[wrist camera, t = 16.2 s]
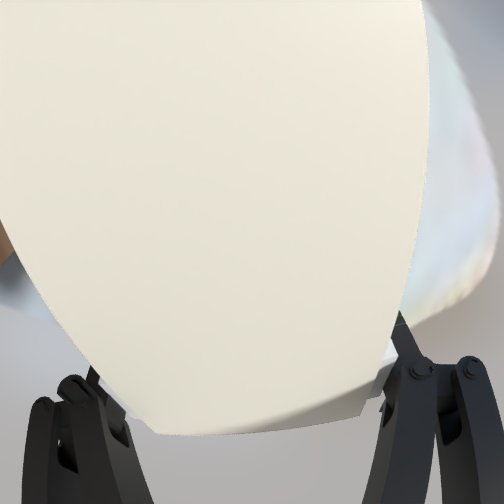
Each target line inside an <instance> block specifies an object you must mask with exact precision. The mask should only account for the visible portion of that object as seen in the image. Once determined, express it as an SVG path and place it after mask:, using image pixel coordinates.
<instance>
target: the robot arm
mask: <svg viewBox="0 0 504 504" xmlns="http://www.w3.org/2000/svg"><path fill="white" fill-rule="evenodd" d="M382 390H383V391H384V394H385V396H386V399H385V400H384V402H383V404H382V406H381V408H380V411H379V412H382V417H381V423H380V430H379V434H378V440H377V445H376V450H375V455H374V459H373V463H372V467H371V472H370V476H369V480H368V483H367V488H366V491H365V494H364V498H363V501H362V504H424V503H425V499H426V493H427V489H428V483H429V476H430V471H431V464H432V456H433V448H434V438H435V434H436V440H437V448H438V456H439V465H440V474H441V487H442V504H504V430H503V426H502V422H501V418H500V414H499V410H498V406H497V403H496V399H495V396H494V392H493V389H492V386H491V383H490V380H489V377H488V374H487V371H486V368H485V366H484V364H483V363H482V361H480V360H479V359H478V358H476V357H474V356H465V357H463V358H461V359H460V361H459V362H458V363H457V364H455V365H454V364H452V365H451V364H449V365H448V364H434V363H433V362H432V361H431V360H430V359H428V358H427V357H424V356H423V355H422V354H421V352H420V350H419V348H418V346H417V344H416V342H415V340H414V338H413V336H412V334H411V332H410V330H409V328H408V326H407V324H406V322H405V320H404V318H403V316H402V314H401V312H400V311H399V312H398V315H397V318H396V322H395V325H394V328H393V331H392V334H391V337H390V340H389V343H388V346H387V349H386V352H385V355H384V358H383V360H382V363H381V366H380V368H379V371H378V374H377V376H376V379H375V381H374V384H373V386H372V389H371V391H370V393H369V396H368V398H367V399H370V398H374V397H378V396H380V394H381V392H382ZM57 394H58V395H59V396H60V397H61V398H62V399H63V400H64V401H61V402H56V403H55V402H53V401H52V400H51V399H50V398H49V397H45V396H44V397H40V398H39V399H37V400H36V401H35V403H34V404H33V406H32V409H31V413H30V418H29V424H28V431H27V437H26V445H25V453H24V463H23V476H22V504H154V502H153V500H152V497H151V495H150V492H149V489H148V486H147V484H146V481H145V478H144V475H143V472H142V469H141V466H140V463H139V460H138V457H137V454H136V451H135V447H134V444H133V440H132V436H131V433H130V429H129V426H128V424H127V422H126V421H125V420H124V419H125V414H126V413H127V414H128V415H129V416H130V417H131V418H136V419H140V418H139V417H138V416H137V415H136V414H135V413H134V412H133V411H132V410H131V409H130V408H129V407H128V406H127V405H126V404H125V403H124V402H123V401H122V400H121V399H120V398H119V397H118V395H117V394H116V393H115V392H114V391H113V390H112V389H111V388H110V387H109V386H108V385H107V383H106V382H105V381H104V380H103V379H102V378H101V377H100V375H99V374H98V373H97V372H96V371H95V370H94V368H93V367H92V366H91V365H90V368H89V371H88V374H87V377H86V380H84V379H83V378H82V377H81V376H79V375H76V374H75V375H69V376H68V377H66V378H65V379H63V380H62V381H61V382H60V384H59V386H58V390H57ZM58 440H60V443H59V445H58Z"/></svg>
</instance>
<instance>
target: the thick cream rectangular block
mask: <svg viewBox="0 0 504 504" xmlns="http://www.w3.org/2000/svg"><path fill="white" fill-rule="evenodd" d="M429 118H430V86H429V63H428V49H427V39H426V30H425V22H424V15H423V8H422V2H421V0H0V220H1V222H2V224H3V226H4V229H5V231H6V233H7V235H8V237H9V239H10V241H11V243H12V245H13V247H14V249H15V251H16V253H17V255H18V257H19V259H20V261H21V263H22V265H23V266H24V268H25V270H26V272H27V274H28V275H29V277H30V279H31V280H32V282H33V284H34V286H35V287H36V289H37V291H38V292H39V294H40V295H41V297H42V299H43V300H44V302H45V303H46V305H47V306H48V308H49V309H50V311H51V312H52V314H53V315H54V317H55V318H56V320H57V321H58V323H59V324H60V326H61V327H62V328H63V330H64V331H65V333H66V334H67V335H68V337H69V338H70V339H71V341H72V342H73V343H74V345H75V346H76V347H77V348H78V350H79V351H80V352H81V353H82V355H83V356H84V357H85V359H86V360H87V361H88V362H89V364H90V365H91V366H92V367H93V368H94V370H95V371H96V372H97V373H98V374H99V375H100V377H101V378H102V379H103V380H104V381H105V382H106V383H107V385H108V386H109V387H110V388H111V389H112V390H113V391H114V392H115V393H116V394H117V395H118V397H119V398H120V399H121V400H122V401H123V402H124V403H125V404H126V405H127V406H128V407H129V408H130V409H131V410H132V411H133V412H134V413H135V414H136V415H137V416H138V417H139V418H140V419H141V420H142V421H143V422H145V423H146V424H147V425H148V426H149V427H150V428H151V429H152V430H153V431H154V432H155V433H156V434H167V435H227V434H245V433H257V432H267V431H277V430H285V429H293V428H300V427H306V426H312V425H318V424H324V423H329V422H333V421H339V420H344V419H348V418H353V417H356V416H360V414H361V411H362V409H363V407H364V405H365V403H366V400H367V398H368V396H369V393H370V391H371V389H372V386H373V384H374V381H375V379H376V376H377V374H378V371H379V368H380V366H381V363H382V360H383V358H384V355H385V352H386V349H387V346H388V343H389V340H390V337H391V334H392V331H393V328H394V325H395V322H396V318H397V315H398V312H399V308H400V305H401V301H402V298H403V294H404V290H405V286H406V282H407V278H408V274H409V270H410V266H411V261H412V257H413V252H414V247H415V242H416V237H417V232H418V226H419V221H420V215H421V208H422V201H423V194H424V186H425V177H426V168H427V156H428V142H429Z"/></svg>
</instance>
